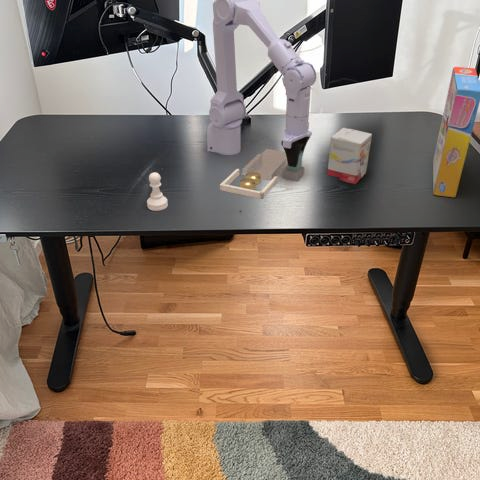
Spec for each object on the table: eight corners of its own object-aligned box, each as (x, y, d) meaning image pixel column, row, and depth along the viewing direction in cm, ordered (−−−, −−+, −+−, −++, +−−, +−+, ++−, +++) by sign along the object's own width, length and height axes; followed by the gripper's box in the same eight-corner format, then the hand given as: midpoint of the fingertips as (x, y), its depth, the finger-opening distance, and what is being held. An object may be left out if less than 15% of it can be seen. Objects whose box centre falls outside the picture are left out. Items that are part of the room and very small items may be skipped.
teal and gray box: (281, 179, 138) (283, 154, 134) (287, 172, 142) (289, 148, 138) (298, 182, 137) (299, 158, 133) (303, 175, 140) (305, 151, 136)
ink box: (355, 185, 137) (361, 143, 130) (325, 177, 141) (329, 136, 134) (367, 172, 143) (373, 132, 136) (338, 165, 147) (342, 125, 140)
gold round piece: (237, 192, 133) (237, 184, 132) (242, 185, 136) (242, 177, 135) (252, 194, 132) (252, 186, 130) (257, 187, 135) (257, 179, 134)
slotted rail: (239, 177, 141) (239, 168, 139) (266, 151, 155) (266, 143, 154) (274, 184, 137) (274, 175, 136) (298, 157, 152) (298, 148, 150)
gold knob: (243, 186, 136) (243, 177, 134) (247, 179, 139) (247, 171, 138) (258, 187, 135) (258, 179, 134) (262, 180, 138) (262, 172, 137)
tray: (220, 193, 133) (219, 184, 132) (236, 177, 141) (236, 168, 140) (262, 202, 129) (262, 193, 128) (277, 185, 137) (277, 176, 136)
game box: (455, 198, 130) (482, 91, 115) (432, 195, 132) (456, 89, 117) (452, 165, 147) (476, 67, 132) (432, 162, 148) (453, 65, 133)
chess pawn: (171, 207, 127) (168, 174, 122) (152, 213, 125) (148, 179, 120) (162, 199, 131) (159, 166, 126) (144, 204, 129) (140, 171, 124)
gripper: (303, 126, 123) (299, 177, 131) (321, 107, 134) (317, 155, 142) (275, 121, 126) (273, 172, 133) (295, 103, 137) (293, 151, 144)
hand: (294, 163), depth 138 cm, fingers closed on teal and gray box, 3 cm apart
